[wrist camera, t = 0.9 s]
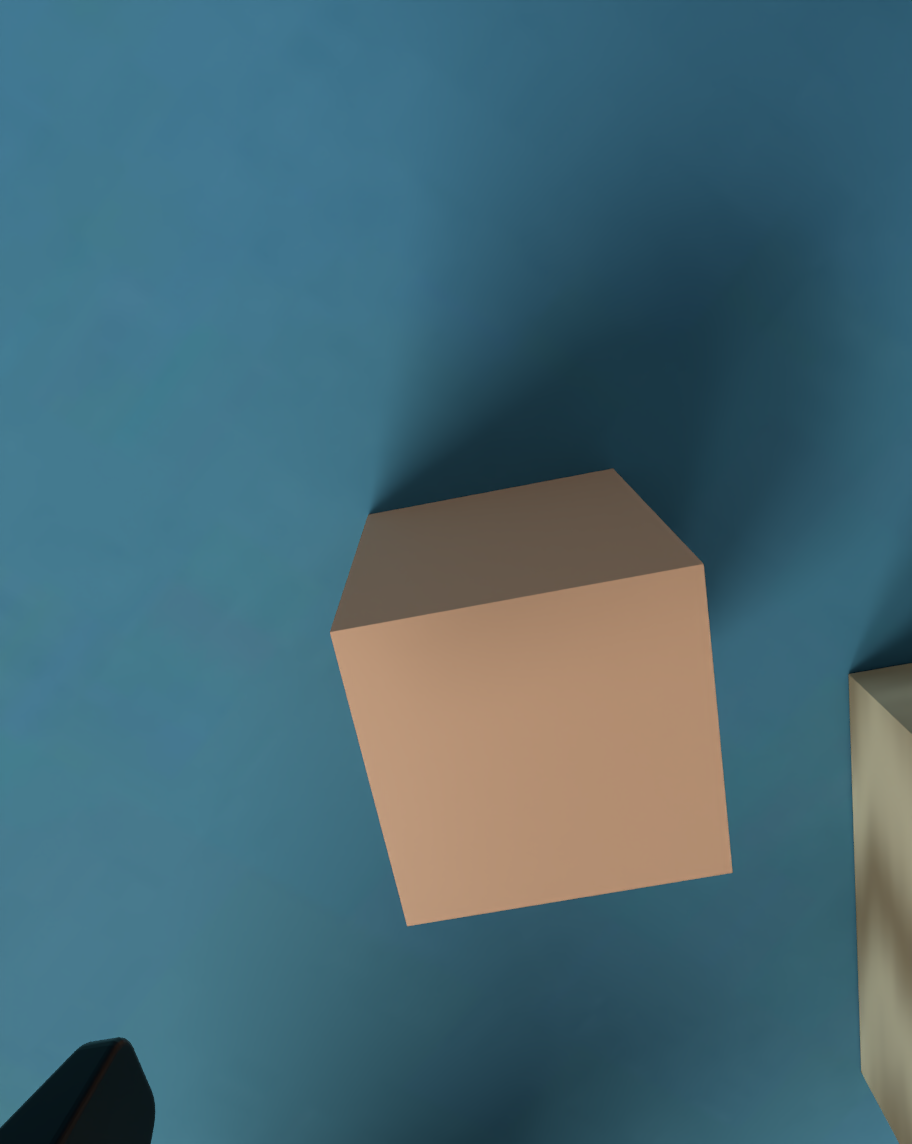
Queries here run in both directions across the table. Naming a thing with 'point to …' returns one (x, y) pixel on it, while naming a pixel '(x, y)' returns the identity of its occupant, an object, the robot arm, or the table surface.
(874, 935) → the birch base
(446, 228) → the table surface
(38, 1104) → the robot arm
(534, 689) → the terracotta block
